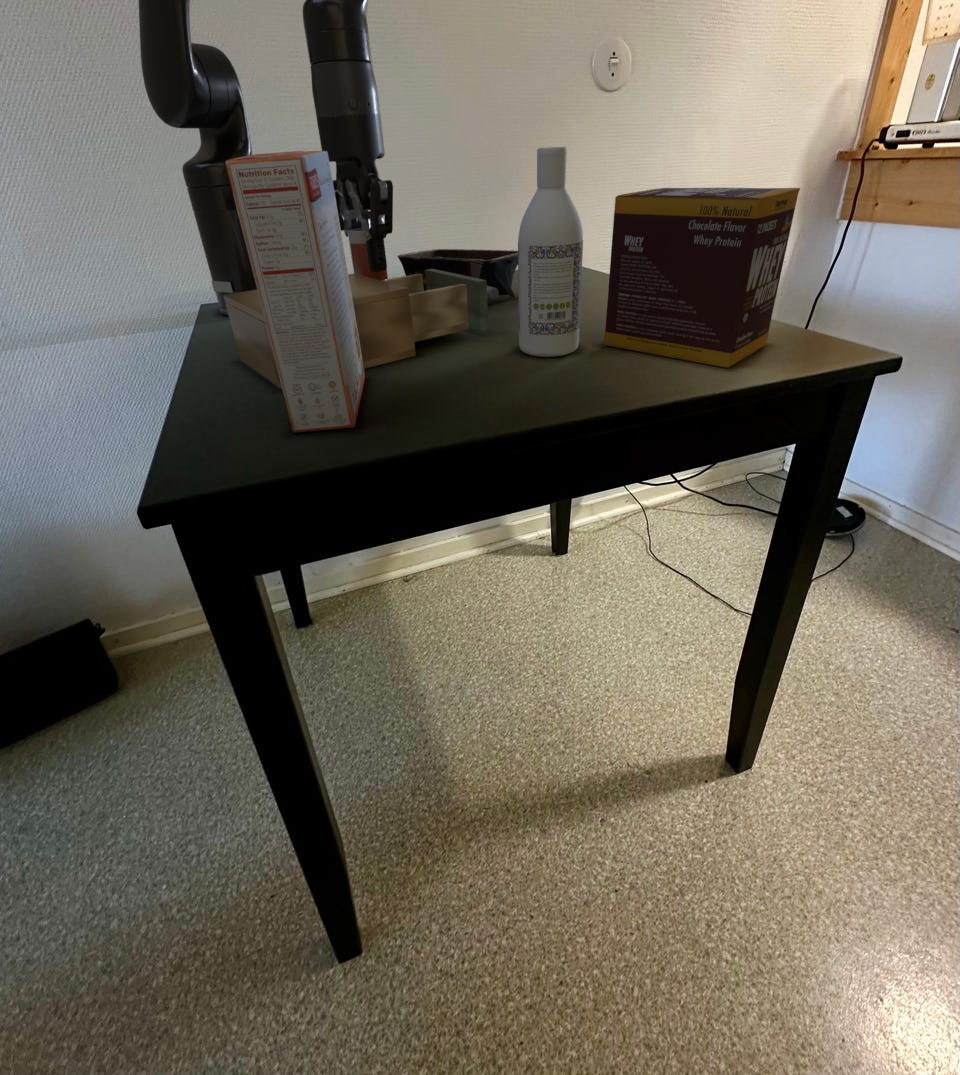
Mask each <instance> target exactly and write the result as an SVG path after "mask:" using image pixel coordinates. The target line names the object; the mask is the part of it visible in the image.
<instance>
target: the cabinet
mask: <svg viewBox="0 0 960 1075" xmlns="http://www.w3.org/2000/svg"><path fill="white" fill-rule="evenodd" d="M348 276H349V282H350V288H351V294H352V300H353V306H354V312H355V318H356V323H357V329H358V335H359V341H360V347H361V353H362V359H363V365H364V370H365V369H368V368H373V367H377V366H381V365H384V364H389V363H392V362H393V363H394V362H397V361H400V360H405V359H409V358H414V357H416V356H417V352H416V345H415V344H416V342H414V333H413V323H412V314H411V305H410V296H409V288H407V287H403V286H399V285H396V284H392V283H388V282H384V281H381V280H377V279H373V278H369V277H366V276H362V275H358V274H355V273H354V272H353V273H348ZM224 300H225V304H226V307H227V311H228V315H227V316H228V318H229V322H230V326H231V330H232V333H233V337H234V340H235V345H236V348H237V352H238V355H239V359H240V362H241V363H243V364H244V365H245V366H247V367H248V368H250V369H252V371H255V372H256V373H257V374H259V375H260V376H261V377H263V378H264V379H266V380H267V381H269V383H271V384H272V385H275V386H276V387H277V388H279V389H280V390H282V386H281V382H280V378H279V374H278V370H277V366H276V362H275V358H274V354H273V350H272V346H271V342H270V338H269V334H268V330H267V326H266V322H265V318H264V315H263V311H262V306H261V302H260V298H259V294H258V290H251V291H245V292H239V293H233V294H227V295H224Z"/></svg>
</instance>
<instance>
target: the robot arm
mask: <svg viewBox="0 0 960 1075" xmlns="http://www.w3.org/2000/svg"><path fill="white" fill-rule="evenodd" d="M368 6H369V0H305V1H304V3H303V5H302V22H303V30H304V35H305V41H306V48H307V54H308V61H309V65H310V80H311V93H312V99H313V105H314V111H315V117H316V123H317V129H318V136H319V142H320V147H321V148H320V149H321V151H327V153H328V158H329V163H332V162H333V163H334V162H335V178H336V179H332V181H333V186H334V192H335V198H336V204H337V210H338V216H339V222H340V228H341V232H342V231H343V232H344V235H345V237H346V238H349V237H348V230H350V229H354V228H362V227H363V230H364V234H365V237H366V239H367V241H366V245H367V253H368V260H369V267H370V270H371V271H373V272H379V271H385V270H386V269H387V270H388V263H387V262H388V261H387V254H386V247H385V239H387V235H389V234H393V227H394V226H393V225H394V222H393V221H394V220H393V218H394V183H393V181H392V180H391V179H387V180H382V179H381V178H380V174H379V171H378V167H377V163H376V160H380V159H383V158H384V157H385V155H386V154H385V153H386V151H385V143H384V135H383V134H384V133H383V127H382V118H381V117H382V116H381V109H380V100H379V91H378V85H377V80H376V76H375V71H374V65H373V63H372V62H373V60H372V59H373V58H372V50H371V43H370V34H369V26H368ZM138 21H139V22H138V23H139V26H138V27H139V48H140V50H139V51H140V63H141V72H142V78H143V84H144V89H145V92H146V96H147V98H148V101H149V103H150V105H151V107H152V109H153V111H154V113H155V114H156V116H157V117H158V118H159V120H161V121H162V122H163V123H164V124H165V125H166V126H168V127H171V128H174V129H184V130H185V129H189V130H190V129H192V130H193V129H195V130H196V129H198V131H199V138H200V144H199V148H198V150H197V152H196V153H195V154H194V155H193V156H192V157H191V158H189V159H188V160H187V161H185V162H184V163H183V164H182V167H181V170H182V175H183V179H184V183H185V187H186V191H187V194H188V197H189V201H190V205H191V208H192V212H193V215H194V219H195V222H196V226H197V230H198V234H199V238H200V241H201V245H202V248H203V252H204V255H205V256H204V257H205V260H206V263H207V266H208V271H209V274H210V278H211V285H212V286H211V287H212V289H213V292H215V296H216V299H217V303H218V310H219V313H220V314H221V315H225V316H229V315H228V311H227V307H226V304H225V300H224V295H227V294H233V293H239V292H245V291H251V290H257V286H256V282H255V278H254V274H253V270H252V267H251V263H250V259H249V255H248V251H247V247H246V243H245V239H244V235H243V231H242V228H241V224H240V220H239V216H238V212H237V208H236V204H235V199H234V196H233V192H232V188H231V184H230V180H229V177H228V173H227V169H226V161H227V160H230V159H234V158H239V157H244V156H249V155H254V154H253V146H252V141H251V135H250V130H249V123H248V116H247V112H246V105H245V102H244V101H245V100H244V94H243V90H242V86H241V82H240V79H239V77H238V74H237V72H236V69H235V67H234V65H233V64H232V62H231V60H230V59H229V57H228V56H227V55H226V54H225V53H224V52H223V50H220V48H218V47H216V46H214V45H209V44H204V43H196V42H192V35H191V0H138ZM348 243H349V242H348ZM349 246H350V243H349ZM349 250H350V249H349ZM350 252H351V250H350ZM351 259H352V257H351ZM351 263H352V262H351ZM352 265H353V263H352Z"/></svg>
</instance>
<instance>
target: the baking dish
mask: <svg viewBox="0 0 960 1075" xmlns="http://www.w3.org/2000/svg"><path fill="white" fill-rule="evenodd" d="M397 259H398V260H399V262H400V265H401V266H402V269H403V271H404V276H409V275H414V274H422V277H423V287H424V291H427V287H426V276H425V270H427V269H436V270H441V271H445V272H450V273H455V274H459V275H464V276H469V277H473V278H478V279H483V280H486V283H487V286H489V287H494V288H496V289H497V290H498V296H509V297H511V298H514V299H515V298H516V295H515V293H514V290H513V289H512V287H513V286H512V285H513V280H514V275H515V272H516V270H517V267H518V250H514V249H511V250H507V249H504V250H503V249H472V248H471V249H468V248H467V249H466V248H465V249H464V248H433V249H426V250H420V251H419V250H418V251H412V252H407V253H402V254H401V253H400V254H398V255H397Z"/></svg>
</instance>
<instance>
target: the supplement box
mask: <svg viewBox="0 0 960 1075" xmlns="http://www.w3.org/2000/svg"><path fill="white" fill-rule="evenodd" d="M800 190H801V187H661V188H652V189H646V190H639V191H633V192H627V193H622V194H618V195H616V196H615V199H614V211H613V224H612V236H611V248H610V249H611V252H610V263H609V277H608V287H607V289H608V292H607V302H606V304H607V305H606V317H605V328H604V338H603V345H604V346H608V347H614V348H619V349H624V350H630V351H633V352H635V351H636V352H641V353H646V354H650V355H656V356H661V357H667V358H672V359H677V360H683V361H688V362H693V363H699V364H704V365H709V366H715V367H720V368H726V369H727V368H730V367H732V366H734V365H735V364H737V363H739V362H740V361H742V360H743V359H745V358H747V357H748V356H750V355H752V354H753V353H755V352H757V351H758V350H759V349H761V348H763V347H764V346H766V345H767V342H768V337H769V332H770V327H771V323H772V318H773V312H774V308H775V302H776V299H777V294H778V290H779V284H780V280H781V276H782V271H783V266H784V261H785V258H786V252H787V248H788V243H789V238H790V234H791V228H792V224H793V220H794V215H795V211H796V207H797V201H798V197H799V194H800Z"/></svg>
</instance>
